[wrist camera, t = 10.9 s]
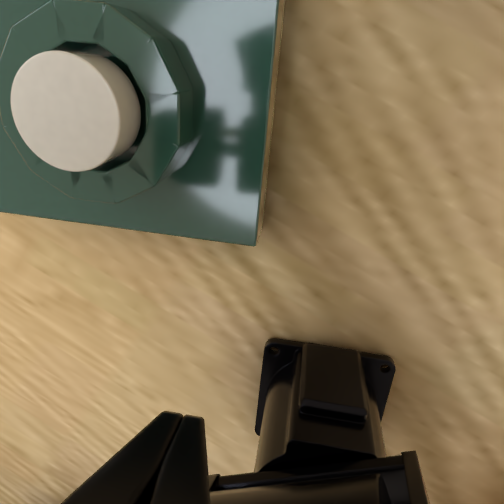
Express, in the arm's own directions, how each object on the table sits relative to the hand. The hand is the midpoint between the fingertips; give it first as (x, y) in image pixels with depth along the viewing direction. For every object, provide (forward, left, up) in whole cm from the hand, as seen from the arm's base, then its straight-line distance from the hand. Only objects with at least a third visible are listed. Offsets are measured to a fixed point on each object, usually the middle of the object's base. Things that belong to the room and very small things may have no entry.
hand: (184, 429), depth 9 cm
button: (+5, +6, -8) cm, 11 cm away
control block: (+5, +6, -12) cm, 14 cm away
